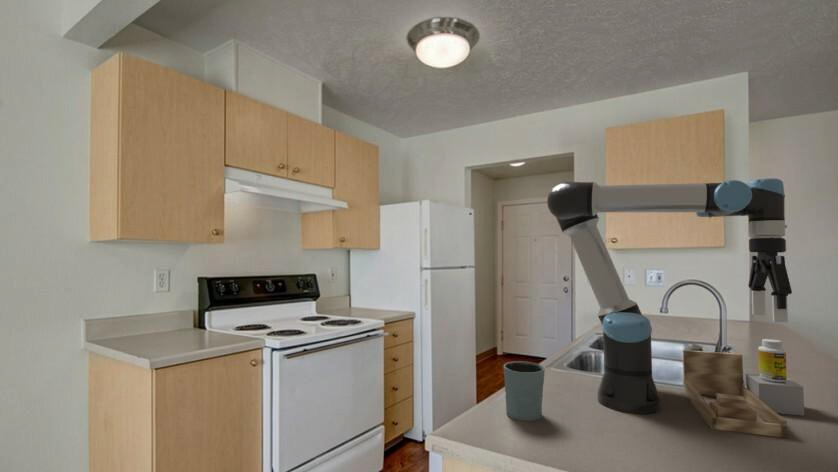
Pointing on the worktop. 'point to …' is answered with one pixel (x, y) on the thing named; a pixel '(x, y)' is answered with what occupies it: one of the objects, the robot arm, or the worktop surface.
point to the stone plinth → (778, 394)
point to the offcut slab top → (734, 412)
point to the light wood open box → (726, 392)
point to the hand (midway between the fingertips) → (769, 318)
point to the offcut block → (731, 401)
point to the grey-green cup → (524, 390)
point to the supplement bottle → (772, 361)
